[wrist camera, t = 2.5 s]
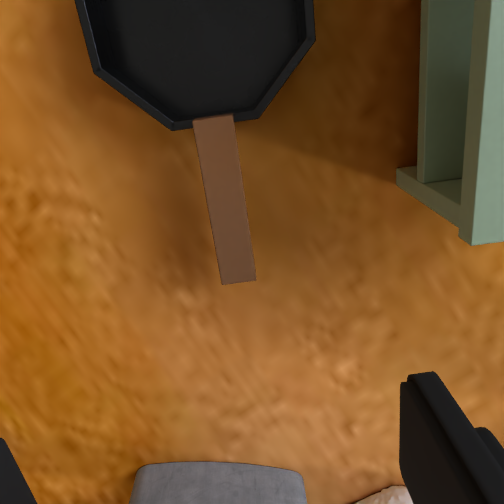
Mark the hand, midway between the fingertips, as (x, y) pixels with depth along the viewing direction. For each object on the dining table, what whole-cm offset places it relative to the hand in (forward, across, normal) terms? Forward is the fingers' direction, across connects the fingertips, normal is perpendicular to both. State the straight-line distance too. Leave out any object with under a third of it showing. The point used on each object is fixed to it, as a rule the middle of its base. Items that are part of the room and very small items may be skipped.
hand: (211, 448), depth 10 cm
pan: (+21, 0, -7) cm, 22 cm away
